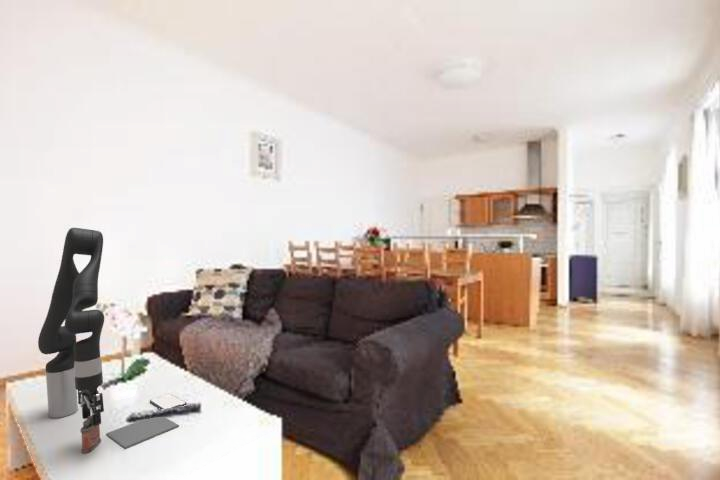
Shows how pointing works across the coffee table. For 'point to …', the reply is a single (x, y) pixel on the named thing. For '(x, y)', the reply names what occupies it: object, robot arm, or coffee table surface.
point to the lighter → (90, 436)
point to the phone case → (167, 401)
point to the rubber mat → (141, 431)
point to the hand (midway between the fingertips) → (91, 421)
